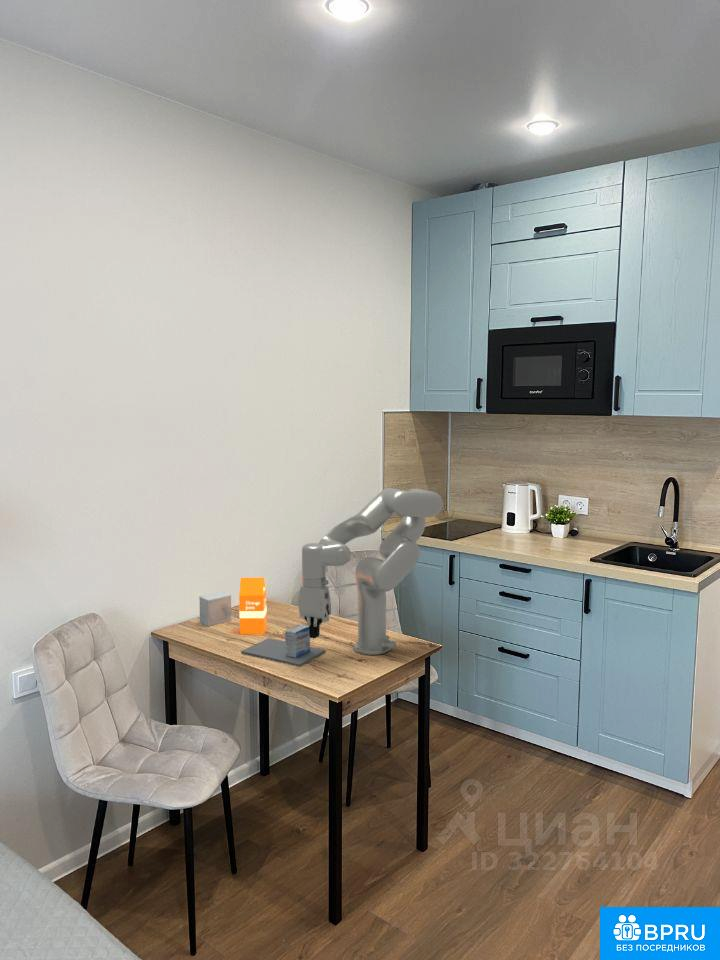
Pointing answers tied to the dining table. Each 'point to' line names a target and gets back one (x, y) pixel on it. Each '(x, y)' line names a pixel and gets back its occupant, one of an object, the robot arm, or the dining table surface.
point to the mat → (280, 652)
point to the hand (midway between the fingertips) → (314, 637)
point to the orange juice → (252, 606)
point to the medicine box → (297, 641)
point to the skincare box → (215, 608)
